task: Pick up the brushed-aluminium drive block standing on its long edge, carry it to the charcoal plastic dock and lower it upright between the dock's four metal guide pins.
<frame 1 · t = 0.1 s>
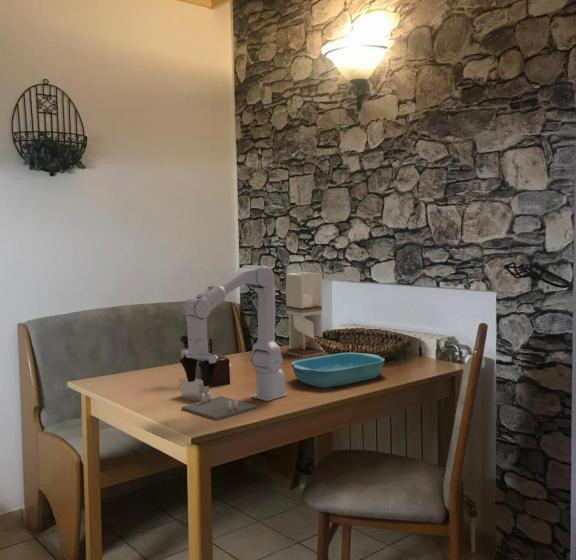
hand: (199, 383, 191), 10 cm above the table, tool pointing down, fingers open, 7 cm apart
casserole dish: (338, 379, 234), on the table
dock: (219, 408, 200), on the table
cream table lamp: (304, 354, 278), on the table
external hard drive: (215, 370, 254), on the table
drive: (195, 398, 213), on the table
brown wooden grinder: (205, 384, 231), on the table
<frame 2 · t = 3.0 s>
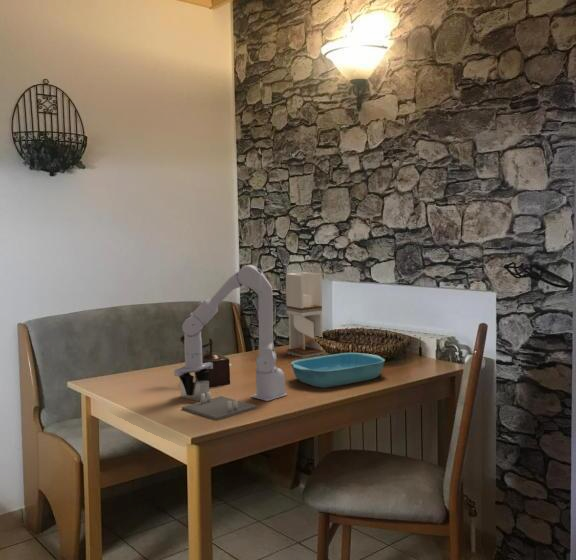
hand: (194, 393, 213), 1 cm above the table, tool pointing down, fingers closed on drive, 4 cm apart
drive: (195, 397, 213), on the table, touching gripper
everything else where it was.
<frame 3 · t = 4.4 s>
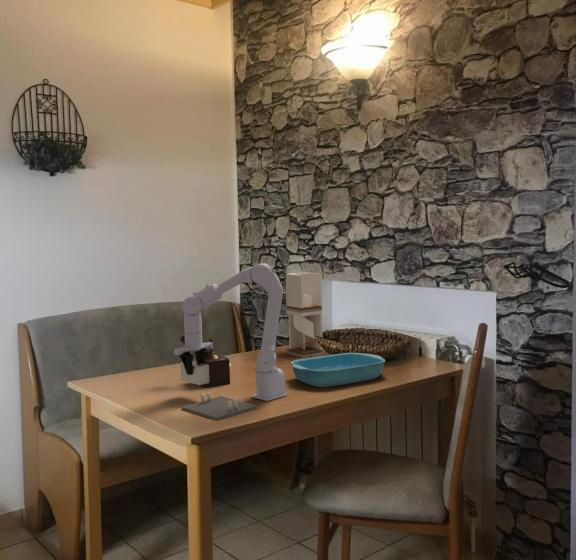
hand: (194, 373, 212), 8 cm above the table, tool pointing down, fingers closed on drive, 4 cm apart
drive: (194, 381, 212), point 6 cm above the table, touching gripper
everything else where it was.
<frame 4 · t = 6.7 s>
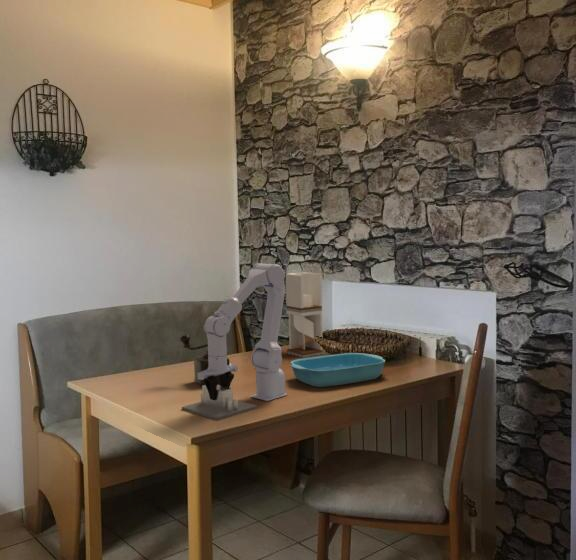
hand: (218, 398, 199), 3 cm above the table, tool pointing down, fingers closed on drive, 4 cm apart
drive: (217, 405, 200), point 1 cm above the table, touching dock, gripper
when the fingers open (3 cm above the table, at t = 7.4 s): drive stays where it is, resting on dock.
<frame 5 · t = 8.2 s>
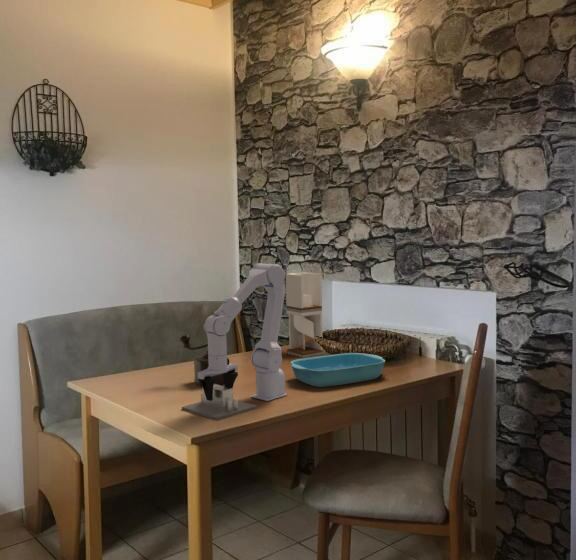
hand: (219, 397, 199), 4 cm above the table, tool pointing down, fingers open, 7 cm apart
drive: (217, 405, 200), point 1 cm above the table, touching dock
everything else where it was.
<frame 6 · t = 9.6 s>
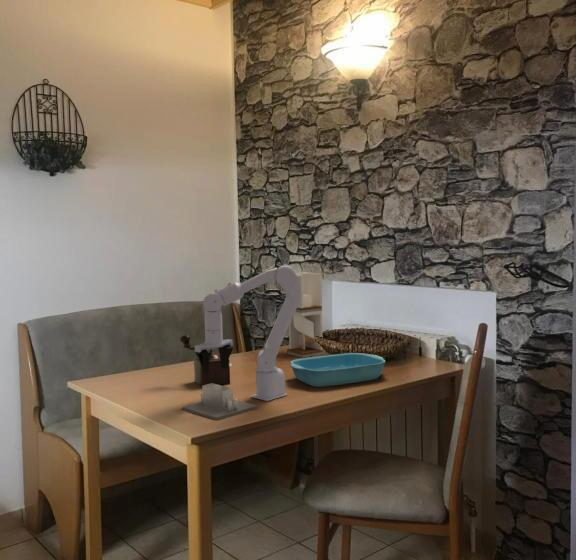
hand: (215, 370, 211), 9 cm above the table, tool pointing down, fingers open, 7 cm apart
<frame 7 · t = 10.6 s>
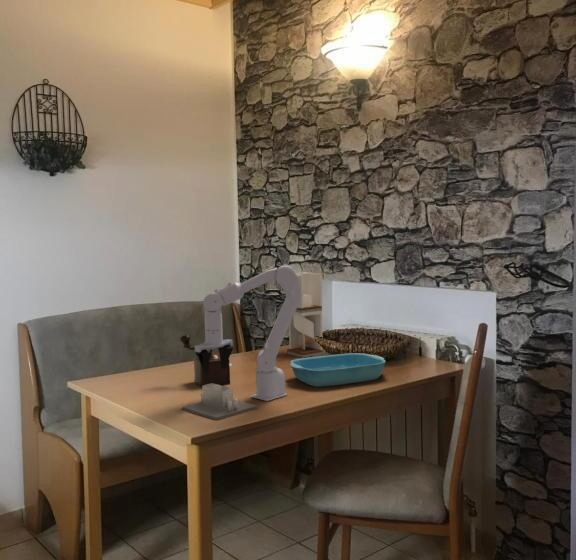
hand: (215, 370, 211), 9 cm above the table, tool pointing down, fingers open, 7 cm apart
at the end: drive 0.6 cm off-centre on the dock, point 0.8 cm above the dock's base; drive tilted 0°; the gripper is holding nothing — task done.
